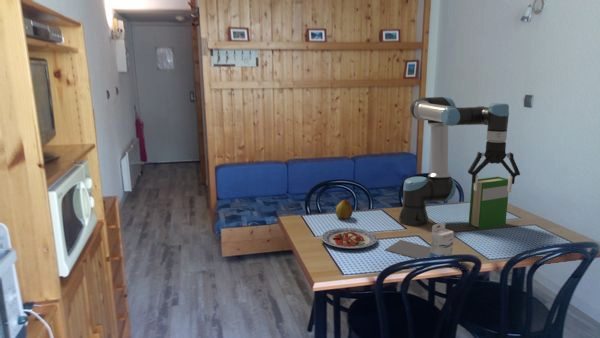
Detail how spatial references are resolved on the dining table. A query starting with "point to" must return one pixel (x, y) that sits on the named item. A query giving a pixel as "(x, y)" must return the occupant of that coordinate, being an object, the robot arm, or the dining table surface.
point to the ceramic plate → (349, 238)
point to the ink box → (441, 241)
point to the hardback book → (489, 203)
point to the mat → (410, 249)
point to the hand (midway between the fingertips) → (492, 190)
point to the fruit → (344, 209)
